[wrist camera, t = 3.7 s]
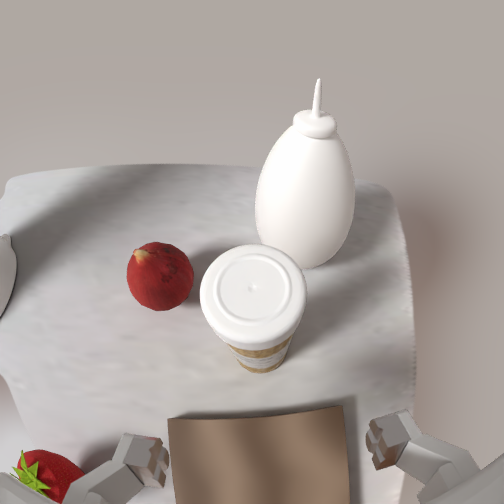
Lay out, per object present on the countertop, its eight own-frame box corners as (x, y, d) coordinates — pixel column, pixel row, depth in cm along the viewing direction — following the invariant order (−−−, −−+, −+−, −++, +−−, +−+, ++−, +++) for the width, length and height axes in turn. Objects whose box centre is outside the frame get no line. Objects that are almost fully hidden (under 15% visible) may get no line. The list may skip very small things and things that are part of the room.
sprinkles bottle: (255, 315, 24) (242, 223, 13) (297, 342, 23) (329, 273, 11) (223, 354, 22) (175, 298, 11) (266, 385, 21) (266, 365, 9)
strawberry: (49, 451, 16) (-18, 448, 7) (94, 443, 17) (22, 446, 9) (70, 498, 13) (6, 510, 5) (119, 495, 15) (55, 520, 6)
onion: (188, 258, 28) (164, 208, 21) (211, 304, 25) (189, 262, 18) (139, 282, 26) (102, 240, 20) (157, 331, 24) (116, 300, 17)
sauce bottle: (344, 280, 25) (418, 116, 10) (265, 295, 25) (260, 116, 10) (322, 217, 29) (351, 59, 14) (252, 228, 29) (237, 61, 14)
